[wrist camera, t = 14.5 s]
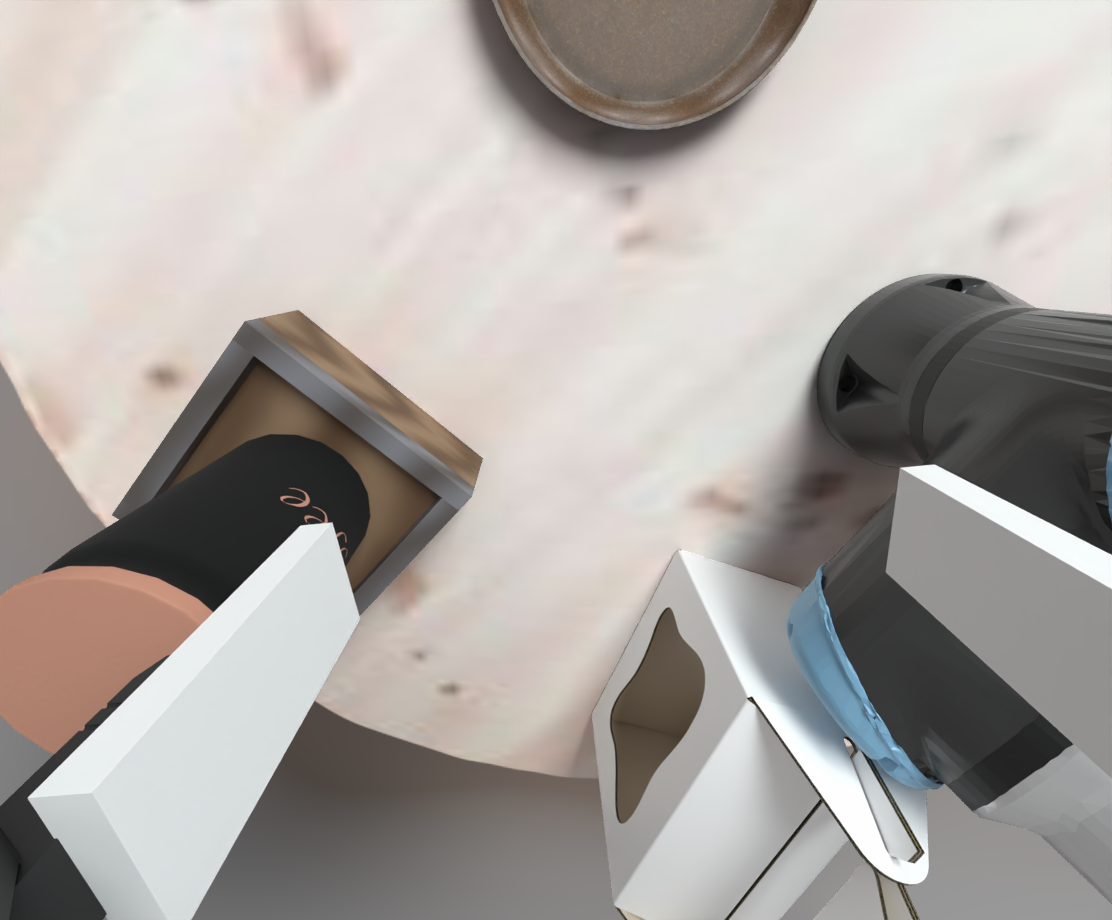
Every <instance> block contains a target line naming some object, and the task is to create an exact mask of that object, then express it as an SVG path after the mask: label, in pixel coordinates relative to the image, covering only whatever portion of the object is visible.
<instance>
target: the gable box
mask: <svg viewBox="0 0 1112 920" xmlns="http://www.w3.org/2000/svg"><path fill="white" fill-rule="evenodd" d="M802 592H803V591H802V590H801V588H800V587H797V586H794V585H791V584H788V583H785V582H782V581H779V580H775V579H772V578H769V577H766V576H763V575H760V574H757V573H753V572H750V571H747V570H744V569H741V568H738V567H735V566H731V565H728V564H725V563H722V562H719V561H716V560H713V559H709V558H706V557H703V556H700V555H697V554H694V553H691V552H687V551H684V550H679V551H676V553H675V555H674V557H673V559H672V561H671V563H670V565H669V566H668V568H667V570H666V572H665V574H664V576H663V578H662V580H661V582H660V584H659V586H658V588H657V590H656V591H655V593H654V595H653V597H652V599H651V601H650V603H649V605H648V607H647V609H646V611H645V613H644V614H643V616H642V618H641V620H640V622H639V624H638V626H637V628H636V630H635V632H634V634H633V636H632V638H631V639H630V641H629V643H628V645H627V647H626V649H625V651H624V653H623V655H622V657H621V659H620V661H619V662H618V664H617V666H616V668H615V670H614V672H613V674H612V676H611V678H610V680H609V682H608V684H607V685H606V687H605V689H604V691H603V693H602V695H601V697H600V699H599V701H598V703H597V705H596V707H595V709H594V710H593V712H592V723H593V732H594V741H595V749H596V758H597V767H598V776H599V785H600V793H601V803H602V811H603V820H604V829H605V837H606V847H607V856H608V864H609V873H610V882H611V891H612V900H613V904H614V905H615V907H616V908H617V910H618V911H619V913H620V914H621V915H622V917H623V918H624V919H625V920H780V919H781V917H782V916H783V915H784V914H785V913H786V912H787V910H788V909H789V908H790V907H791V906H792V905H793V903H794V902H795V901H796V900H797V899H798V897H799V896H800V895H801V894H802V893H803V891H805V889H806V888H807V887H808V886H809V885H810V884H811V882H812V881H813V880H814V879H815V878H816V876H817V875H818V874H819V873H820V872H821V871H822V870H823V868H824V867H825V866H826V865H827V864H828V863H829V861H830V860H831V859H832V858H833V857H834V855H835V854H836V853H837V852H838V851H839V849H841V847H842V846H843V845H844V844H845V843H846V842H847V840H848V839H849V840H850V842H851V843H852V844H853V846H854V847H855V849H856V850H857V851H858V853H859V854H860V855H861V857H862V858H863V860H862V864H860V865H859V866H857V867H856V868H855V869H854V870H853V874H852V876H851V877H850V879H849V880H848V881H847V882H846V883H845V884H844V885H843V886H842V887H841V889H840V890H839V891H838V892H837V893H836V894H835V895H834V896H833V898H832V899H831V900H830V901H829V902H828V903H827V904H826V905H825V906H824V908H823V909H822V910H821V911H820V912H819V913H818V914H817V915H816V917H815V918H814V919H813V920H920V919H919V917H918V915H917V912H916V910H915V908H914V906H913V904H912V901H911V899H910V897H909V895H908V893H907V890H906V888H905V886H904V885H915V884H918V883H920V882H922V881H923V880H924V879H925V878H926V876H927V873H928V867H929V861H928V832H927V803H926V790H917V789H914V788H910V787H908V786H906V785H904V784H902V783H900V782H898V781H897V780H895V779H894V778H893V777H891V776H890V775H889V774H887V773H886V772H885V771H884V769H883V768H882V767H881V765H880V764H879V763H878V761H877V760H874V759H870V758H869V757H868V756H867V755H866V754H865V753H864V752H863V751H862V750H861V749H860V748H859V747H858V746H857V745H856V744H855V743H854V742H853V741H852V740H851V739H850V738H849V737H848V736H847V734H846V733H845V732H844V731H843V730H842V729H841V727H840V726H839V725H838V724H837V723H836V721H835V720H834V719H833V717H832V716H831V715H830V714H829V712H828V711H827V710H826V708H825V707H824V706H823V704H822V703H821V702H820V700H819V699H818V697H817V696H816V694H815V693H814V691H813V690H812V688H811V687H810V685H809V683H808V682H807V680H806V679H805V677H804V675H803V673H802V671H801V670H800V668H799V666H798V664H797V662H796V660H795V657H794V655H793V653H792V650H791V646H790V641H789V639H788V636H787V628H786V620H787V615H788V611H789V609H790V607H791V605H792V604H793V603H794V601H795V600H796V599H797V598H798V597H799V595H800V594H801V593H802ZM844 738H845V739H847V740H848V741H850V743H851V744H852V746H853V748H854V751H853V753H852V754H851V756H849V753H848V750H847V748H846V745H845V743H844ZM892 856H894V857H895V858H894V857H892Z"/></svg>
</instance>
